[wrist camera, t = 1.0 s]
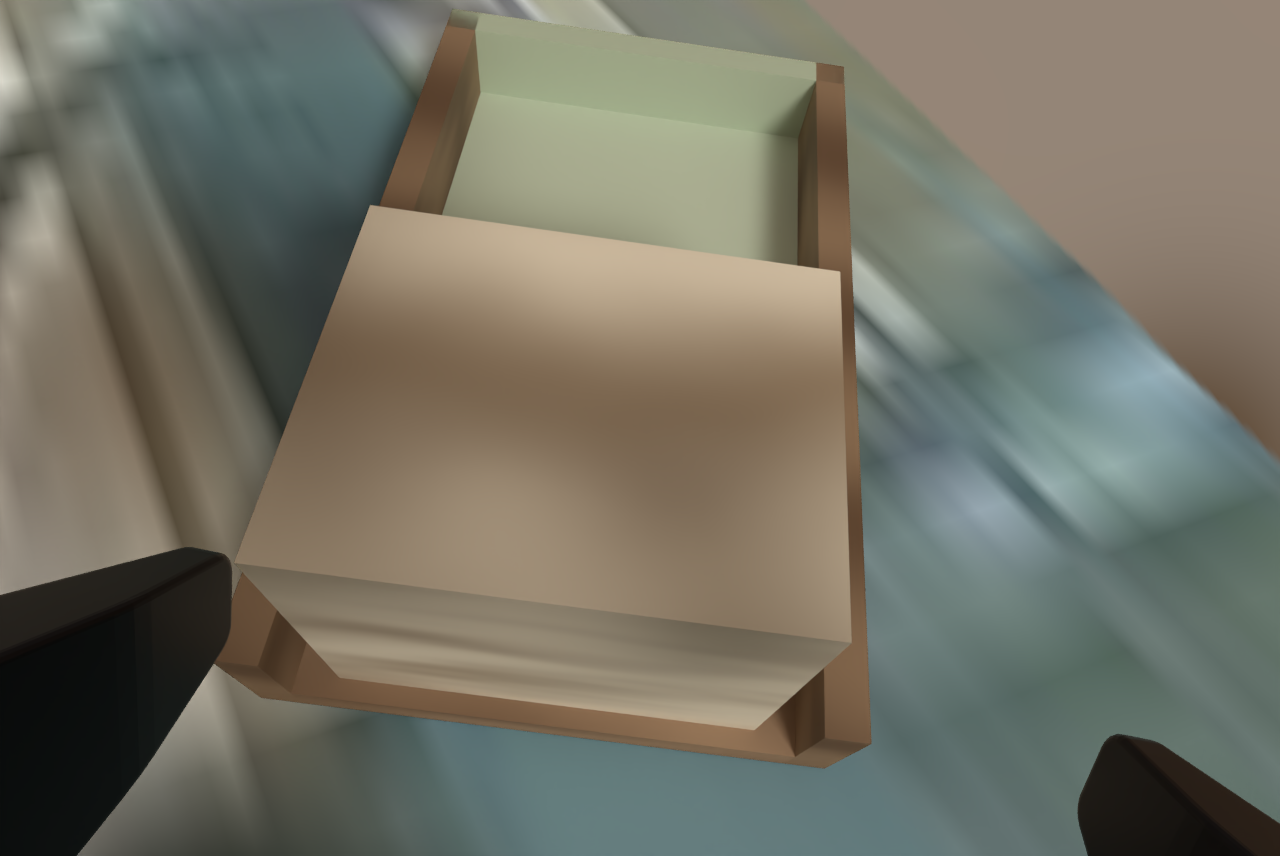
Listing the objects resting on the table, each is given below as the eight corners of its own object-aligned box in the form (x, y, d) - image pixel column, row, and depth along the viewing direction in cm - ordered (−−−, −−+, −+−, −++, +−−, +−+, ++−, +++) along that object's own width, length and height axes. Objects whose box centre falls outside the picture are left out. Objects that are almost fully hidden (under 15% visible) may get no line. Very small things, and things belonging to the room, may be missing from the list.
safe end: (819, 337, 27) (852, 266, 24) (400, 279, 27) (381, 200, 24) (816, 145, 32) (843, 66, 29) (462, 93, 32) (452, 8, 29)
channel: (824, 768, 20) (871, 743, 17) (261, 697, 20) (209, 660, 17) (816, 145, 32) (843, 66, 29) (462, 93, 32) (452, 8, 29)
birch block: (754, 730, 20) (851, 642, 13) (339, 677, 19) (234, 562, 13) (762, 444, 24) (840, 271, 17) (420, 397, 24) (370, 205, 17)
